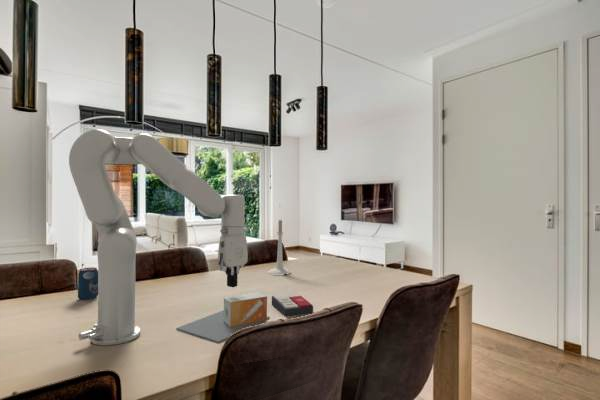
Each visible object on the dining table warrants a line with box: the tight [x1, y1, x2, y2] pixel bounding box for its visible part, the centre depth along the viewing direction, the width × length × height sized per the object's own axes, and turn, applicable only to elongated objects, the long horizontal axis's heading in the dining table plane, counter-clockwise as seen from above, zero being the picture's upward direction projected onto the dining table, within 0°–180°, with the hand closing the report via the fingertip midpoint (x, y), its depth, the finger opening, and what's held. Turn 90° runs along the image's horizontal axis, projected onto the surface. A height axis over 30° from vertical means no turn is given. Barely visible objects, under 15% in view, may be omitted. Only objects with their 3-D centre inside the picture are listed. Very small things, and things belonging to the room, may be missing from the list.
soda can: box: [77, 267, 98, 302], centre depth 134 cm, size 7×7×12 cm
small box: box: [223, 291, 268, 327], centre depth 111 cm, size 8×6×13 cm
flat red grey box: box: [271, 292, 314, 318], centre depth 125 cm, size 11×4×15 cm
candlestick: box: [267, 219, 292, 275], centre depth 187 cm, size 13×13×30 cm
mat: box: [175, 309, 270, 344], centre depth 109 cm, size 24×18×1 cm
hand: (232, 286), depth 112 cm, fingers closed
